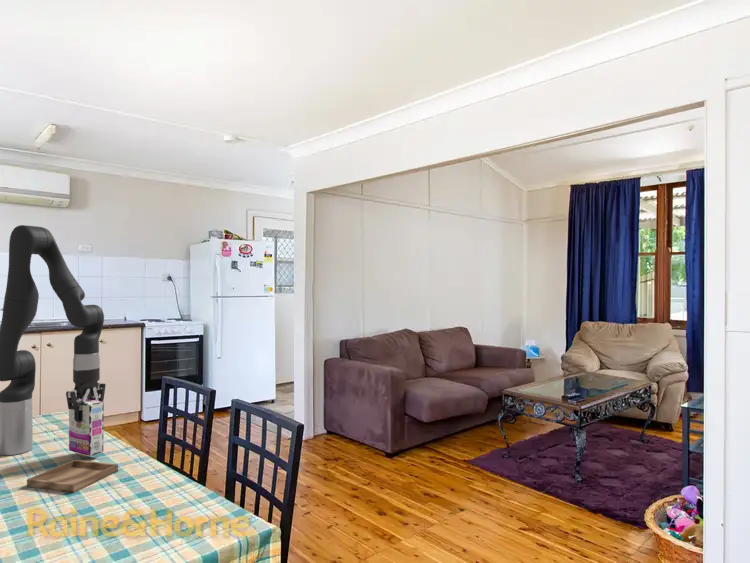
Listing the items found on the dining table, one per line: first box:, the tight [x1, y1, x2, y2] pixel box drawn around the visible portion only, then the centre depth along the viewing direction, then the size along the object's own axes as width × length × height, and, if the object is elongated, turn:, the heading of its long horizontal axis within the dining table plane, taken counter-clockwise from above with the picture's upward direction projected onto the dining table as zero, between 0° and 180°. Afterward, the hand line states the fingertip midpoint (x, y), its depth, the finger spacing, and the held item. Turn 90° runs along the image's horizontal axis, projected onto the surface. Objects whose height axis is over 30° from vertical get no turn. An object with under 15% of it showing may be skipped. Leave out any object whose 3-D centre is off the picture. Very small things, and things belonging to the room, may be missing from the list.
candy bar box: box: [68, 399, 105, 457], centre depth 167 cm, size 11×5×16 cm, turn 62°
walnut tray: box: [26, 459, 119, 494], centre depth 149 cm, size 16×16×2 cm
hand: (86, 418), depth 167 cm, fingers closed on candy bar box, 5 cm apart
